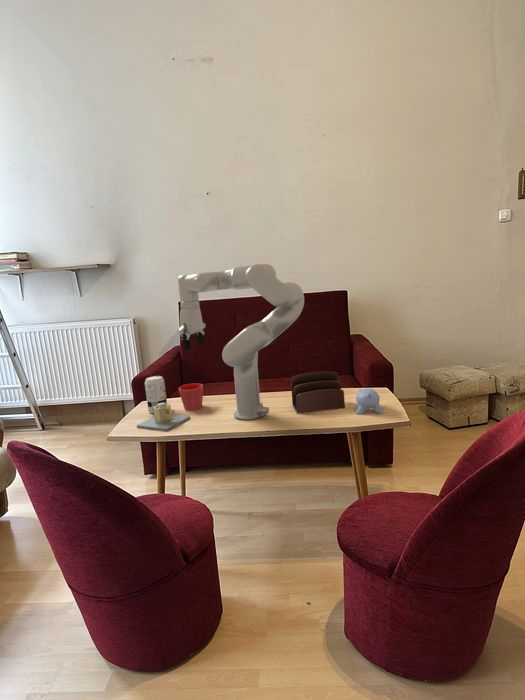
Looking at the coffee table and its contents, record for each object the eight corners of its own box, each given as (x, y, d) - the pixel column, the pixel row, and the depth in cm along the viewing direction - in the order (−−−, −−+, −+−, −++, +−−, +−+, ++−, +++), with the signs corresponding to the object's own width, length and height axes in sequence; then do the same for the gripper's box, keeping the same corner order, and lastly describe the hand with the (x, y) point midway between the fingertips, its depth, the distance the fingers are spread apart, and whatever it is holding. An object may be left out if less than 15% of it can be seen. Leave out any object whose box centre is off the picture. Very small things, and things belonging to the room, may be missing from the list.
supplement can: (147, 410, 200) (143, 377, 197) (166, 407, 203) (162, 374, 200) (149, 415, 193) (145, 381, 190) (169, 412, 195) (165, 378, 193)
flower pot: (176, 411, 195) (173, 389, 194) (188, 403, 206) (186, 383, 204) (198, 412, 192) (195, 390, 190) (209, 404, 202) (207, 383, 200)
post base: (190, 418, 184) (188, 399, 183) (166, 431, 171) (164, 411, 170) (161, 415, 191) (159, 397, 190) (136, 427, 178) (134, 408, 177)
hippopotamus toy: (378, 403, 184) (378, 381, 182) (385, 415, 169) (385, 391, 168) (352, 404, 185) (351, 382, 183) (356, 417, 170) (355, 392, 169)
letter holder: (292, 406, 189) (290, 374, 187) (338, 401, 191) (336, 369, 189) (296, 414, 180) (294, 379, 177) (345, 408, 182) (343, 374, 179)
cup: (151, 422, 180) (149, 408, 179) (162, 417, 185) (160, 403, 184) (168, 424, 176) (167, 409, 175) (179, 418, 181) (177, 404, 180)
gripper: (194, 303, 192) (199, 343, 195) (169, 308, 177) (174, 351, 180) (209, 302, 188) (213, 343, 191) (184, 307, 173) (189, 351, 176)
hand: (194, 346), depth 186 cm, fingers open, 9 cm apart
